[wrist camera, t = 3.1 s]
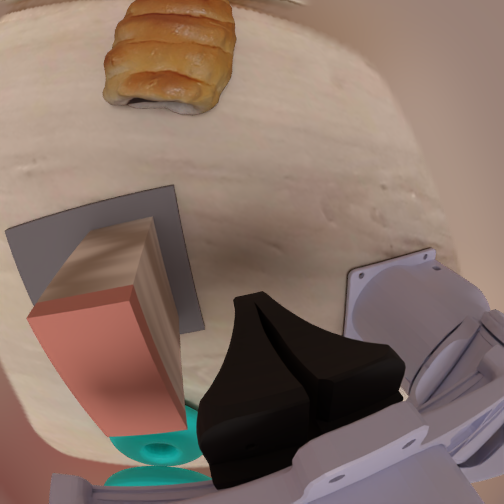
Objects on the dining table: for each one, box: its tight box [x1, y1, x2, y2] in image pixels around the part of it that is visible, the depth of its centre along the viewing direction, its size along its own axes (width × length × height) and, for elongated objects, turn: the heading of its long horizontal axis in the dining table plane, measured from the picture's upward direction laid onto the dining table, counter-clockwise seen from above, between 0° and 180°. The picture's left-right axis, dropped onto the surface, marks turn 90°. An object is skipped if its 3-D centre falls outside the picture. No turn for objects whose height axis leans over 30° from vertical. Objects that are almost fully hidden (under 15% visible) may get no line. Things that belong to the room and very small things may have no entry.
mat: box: [5, 185, 205, 334], centre depth 17 cm, size 12×10×1 cm
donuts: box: [104, 405, 212, 486], centre depth 19 cm, size 10×10×10 cm
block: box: [27, 216, 188, 437], centre depth 13 cm, size 4×7×9 cm, turn 6°
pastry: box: [103, 0, 236, 115], centre depth 11 cm, size 9×7×4 cm
